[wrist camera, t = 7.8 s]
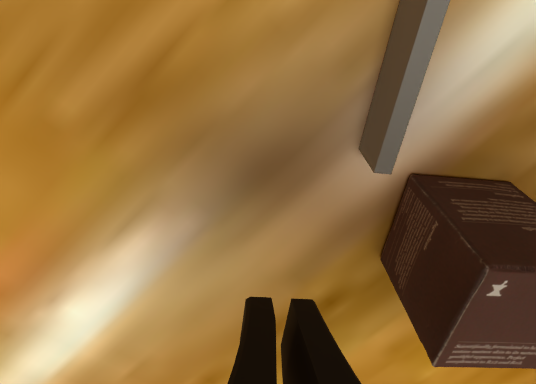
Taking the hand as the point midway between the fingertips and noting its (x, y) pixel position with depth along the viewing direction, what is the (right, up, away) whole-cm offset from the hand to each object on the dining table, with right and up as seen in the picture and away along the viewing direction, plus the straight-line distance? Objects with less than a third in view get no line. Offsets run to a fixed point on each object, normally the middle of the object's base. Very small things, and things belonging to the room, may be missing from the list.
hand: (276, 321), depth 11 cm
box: (+10, +2, +11) cm, 15 cm away
